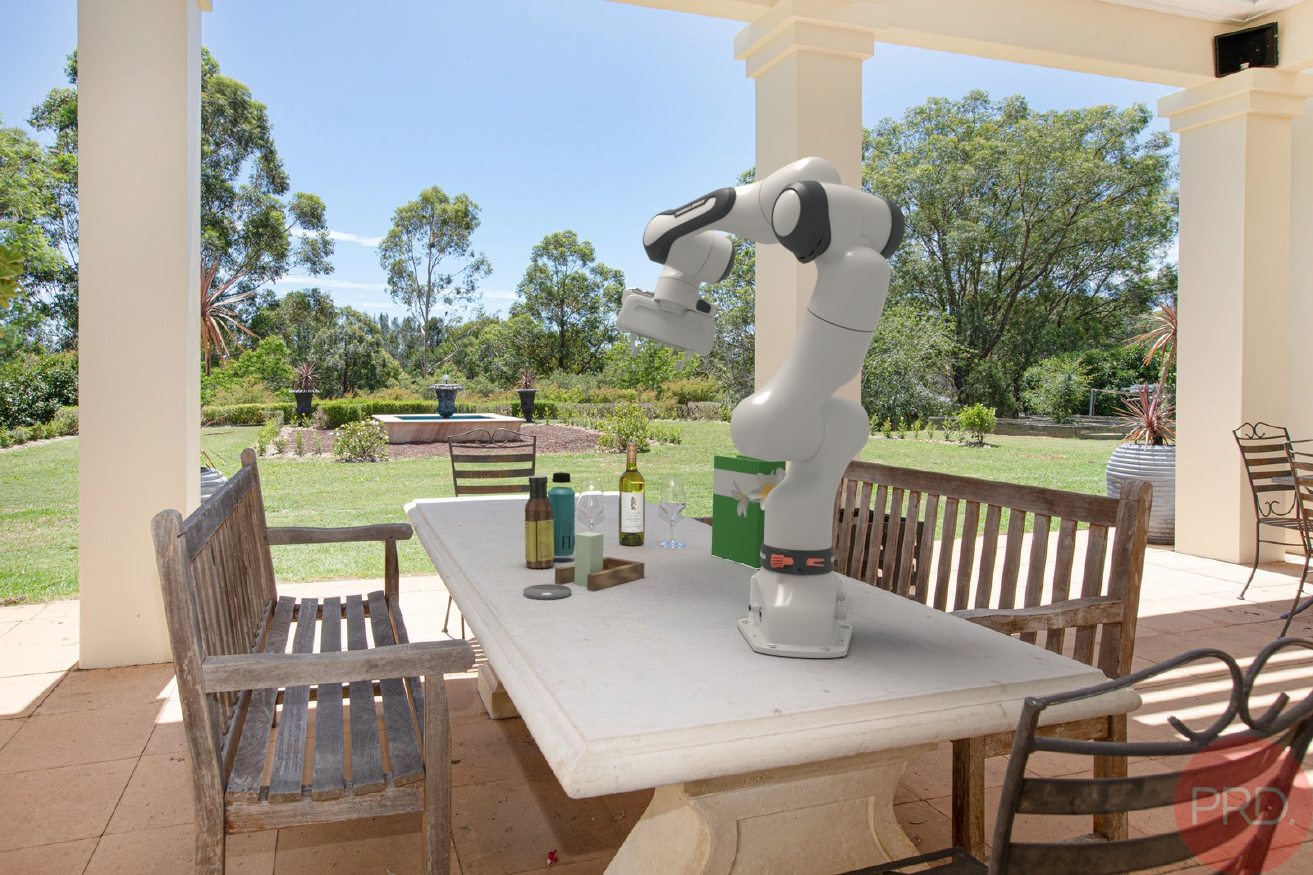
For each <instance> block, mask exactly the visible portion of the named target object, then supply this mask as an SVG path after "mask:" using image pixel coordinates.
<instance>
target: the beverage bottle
mask: <svg viewBox="0 0 1313 875" xmlns="http://www.w3.org/2000/svg"><path fill="white" fill-rule="evenodd" d="M551 481H552V483H558V484H563V483H565V484H566V483H567V484H568V483H571V482H572V481H571V473H569V472H564V471H563V472H554V473H552V479H551ZM575 495H576V492H575V490H574V489H572V488H571V487H569V486H553V487H551V488H550V489H549V490H547V497H548V499H549V501H550V504H551V505H552V510H553V525H554V557H569V556H573V555H575V534H576V533H575V531H576V527H575V523H576V522H575V521H576V519H575V518H576V496H575Z"/></svg>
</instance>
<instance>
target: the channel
mask: <svg viewBox="0 0 1313 875" xmlns="http://www.w3.org/2000/svg"><path fill="white" fill-rule="evenodd" d="M643 578H645V562H640V561H636V560H631V559H630V560H628V559H623V558H618V557H617V558H616V557H612V556H611V557H610V556H603V571H600V572H596V573H592V574H588V575H587V586H586V590H587V591H590V592H595V591H598V590H602V589H606V588H609V587H612V586H618V585H620V584H624V583H629V582H631V581H632V582H633V581H636V580H639V579H643ZM574 580H575V563H573V564H568V565H565V566H560V567H556V568H554V584H555V585H564V584H568V583H571V582H574Z"/></svg>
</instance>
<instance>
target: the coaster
mask: <svg viewBox="0 0 1313 875" xmlns="http://www.w3.org/2000/svg"><path fill="white" fill-rule="evenodd" d="M522 591H523V592H522V594H523V596H524V597H525V598H527V599H531V600H539V601H540V600H541V601H547V600H548V601H551V600H561V599H565V598H569V597H571V595H572V588H570V587H568V586H565V585H563V584H552V583H551V584H550V583H549V584H544V583H543V584H534V585H530V586H526V587H524V588H523V590H522Z"/></svg>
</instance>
